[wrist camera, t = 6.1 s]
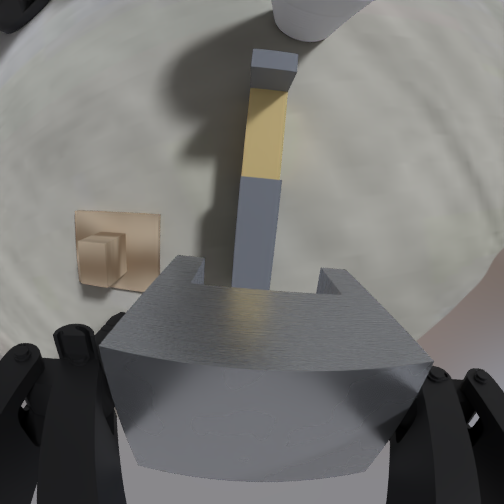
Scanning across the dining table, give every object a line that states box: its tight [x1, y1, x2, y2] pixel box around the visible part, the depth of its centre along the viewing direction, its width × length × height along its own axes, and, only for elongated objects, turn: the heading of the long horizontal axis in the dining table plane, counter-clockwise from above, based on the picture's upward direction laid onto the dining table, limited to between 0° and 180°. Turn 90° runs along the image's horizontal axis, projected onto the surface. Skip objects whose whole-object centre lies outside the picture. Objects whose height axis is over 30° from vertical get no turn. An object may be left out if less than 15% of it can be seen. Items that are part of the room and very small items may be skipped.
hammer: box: [231, 49, 298, 290], centre depth 20 cm, size 19×3×8 cm, turn 175°
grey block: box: [99, 255, 434, 482], centre depth 9 cm, size 5×7×7 cm
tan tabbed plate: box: [75, 210, 161, 292], centre depth 23 cm, size 8×10×5 cm
